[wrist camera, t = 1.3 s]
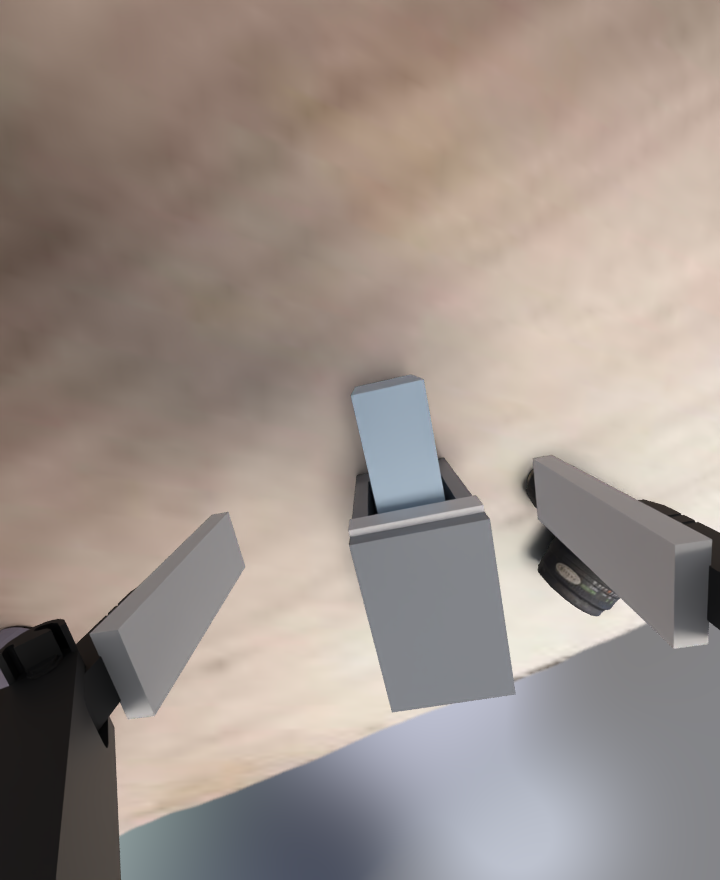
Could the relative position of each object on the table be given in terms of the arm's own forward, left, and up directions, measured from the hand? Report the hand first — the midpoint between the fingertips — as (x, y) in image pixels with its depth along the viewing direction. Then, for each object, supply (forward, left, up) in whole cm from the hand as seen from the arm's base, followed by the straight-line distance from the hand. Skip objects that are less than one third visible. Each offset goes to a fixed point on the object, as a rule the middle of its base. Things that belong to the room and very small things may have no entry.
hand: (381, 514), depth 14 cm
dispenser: (+12, +2, -19) cm, 23 cm away
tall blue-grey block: (+5, +2, -17) cm, 17 cm away
